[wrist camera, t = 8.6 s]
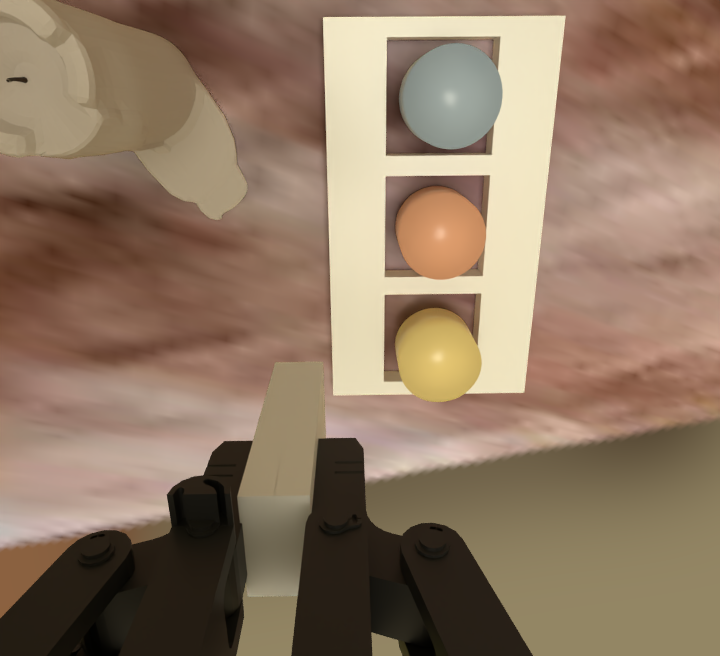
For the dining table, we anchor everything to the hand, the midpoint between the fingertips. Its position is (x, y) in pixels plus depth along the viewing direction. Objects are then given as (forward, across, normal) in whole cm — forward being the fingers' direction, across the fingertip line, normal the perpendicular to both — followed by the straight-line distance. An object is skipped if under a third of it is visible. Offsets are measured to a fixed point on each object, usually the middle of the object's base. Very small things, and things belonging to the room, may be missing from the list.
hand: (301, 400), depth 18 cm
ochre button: (+25, +8, -9) cm, 28 cm away
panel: (+28, +8, 0) cm, 30 cm away
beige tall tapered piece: (+29, -11, +7) cm, 31 cm away
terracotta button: (+27, +8, 0) cm, 28 cm away
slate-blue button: (+25, +8, +9) cm, 28 cm away
